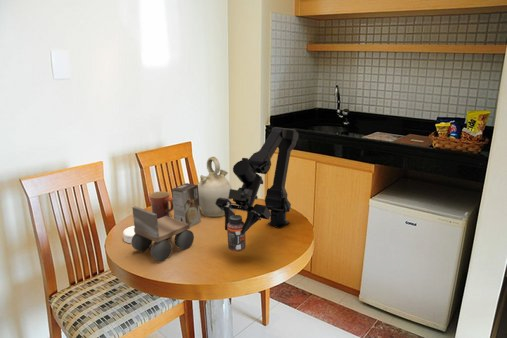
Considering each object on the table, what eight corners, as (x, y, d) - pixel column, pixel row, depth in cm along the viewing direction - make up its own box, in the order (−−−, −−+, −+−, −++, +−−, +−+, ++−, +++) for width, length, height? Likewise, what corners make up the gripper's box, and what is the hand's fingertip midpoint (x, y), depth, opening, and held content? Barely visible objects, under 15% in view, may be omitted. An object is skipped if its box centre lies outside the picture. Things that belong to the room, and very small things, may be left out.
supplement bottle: (243, 253, 126) (242, 221, 123) (226, 252, 128) (224, 220, 124) (247, 244, 132) (246, 213, 129) (230, 243, 133) (229, 213, 130)
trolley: (170, 235, 150) (167, 194, 145) (194, 245, 141) (191, 201, 137) (132, 252, 137) (127, 208, 132) (156, 264, 129) (151, 217, 124)
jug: (225, 203, 182) (223, 151, 175) (238, 214, 168) (236, 158, 161) (193, 208, 176) (190, 155, 169) (203, 221, 162) (200, 163, 155)
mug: (146, 218, 166) (144, 196, 163) (161, 211, 173) (159, 190, 170) (167, 224, 160) (164, 200, 157) (181, 217, 167) (179, 194, 164)
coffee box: (189, 218, 165) (186, 182, 161) (201, 221, 162) (198, 184, 158) (174, 226, 158) (171, 188, 154) (186, 229, 155) (183, 191, 150)
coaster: (124, 234, 152) (123, 226, 151) (150, 231, 154) (150, 223, 153) (123, 245, 143) (121, 237, 142) (151, 242, 145) (150, 233, 144)
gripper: (216, 174, 131) (199, 217, 125) (265, 182, 122) (249, 228, 116) (230, 189, 140) (214, 230, 134) (277, 197, 131) (262, 240, 125)
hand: (234, 231), depth 127 cm, fingers closed on supplement bottle, 6 cm apart
